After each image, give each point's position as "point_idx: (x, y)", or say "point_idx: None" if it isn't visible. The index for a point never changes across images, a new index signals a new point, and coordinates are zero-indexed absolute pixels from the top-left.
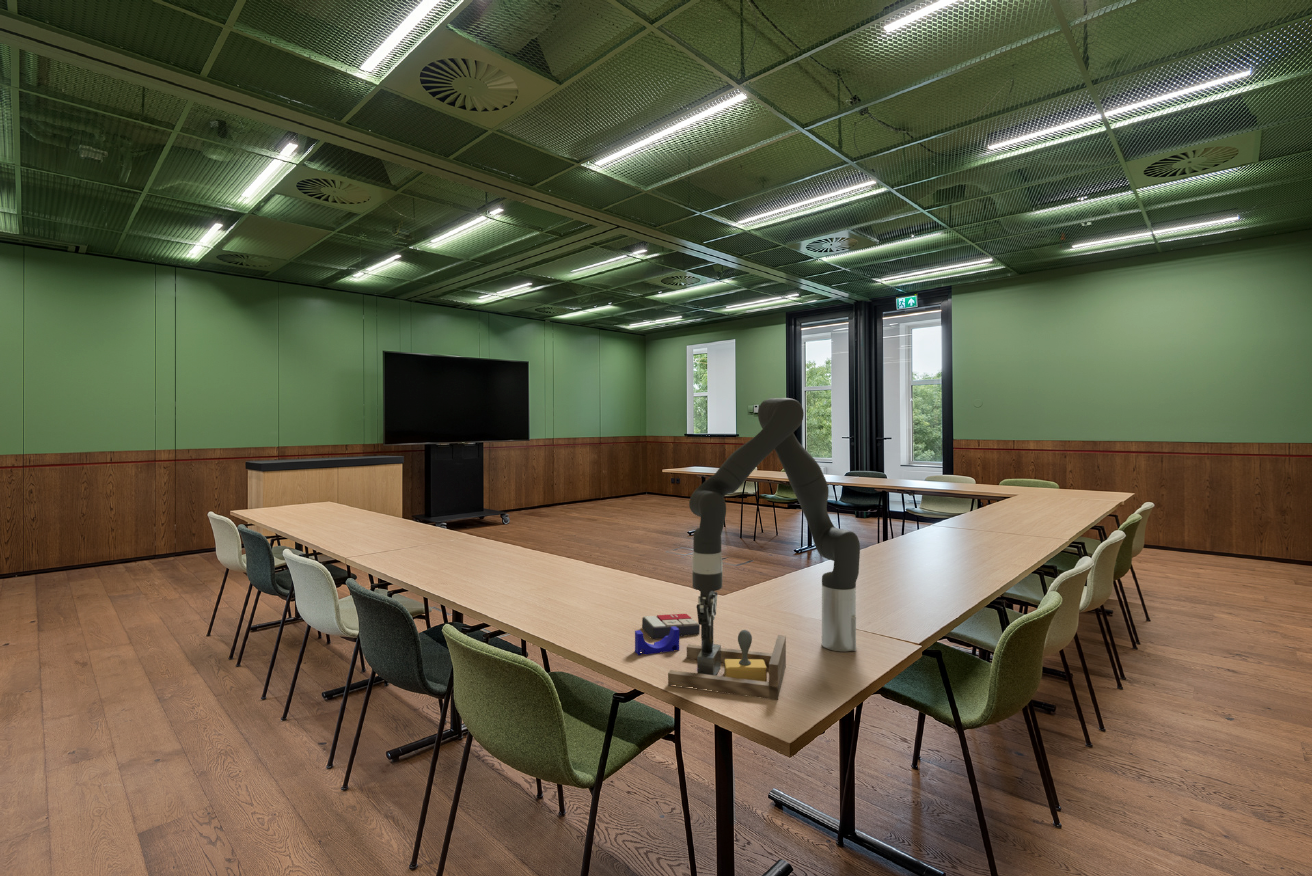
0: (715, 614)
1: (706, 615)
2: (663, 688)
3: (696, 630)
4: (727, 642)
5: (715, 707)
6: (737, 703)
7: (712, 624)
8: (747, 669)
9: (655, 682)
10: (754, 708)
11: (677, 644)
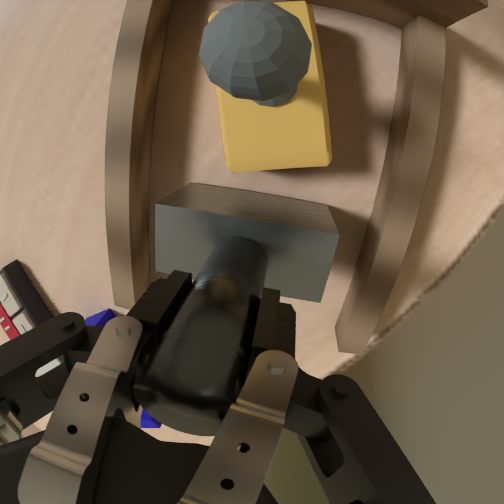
0: (71, 316)
1: (404, 464)
2: (371, 337)
3: (15, 270)
4: (27, 184)
5: (483, 203)
6: (466, 137)
7: (220, 328)
8: (323, 73)
9: (334, 356)
10: (484, 96)
11: (104, 322)
